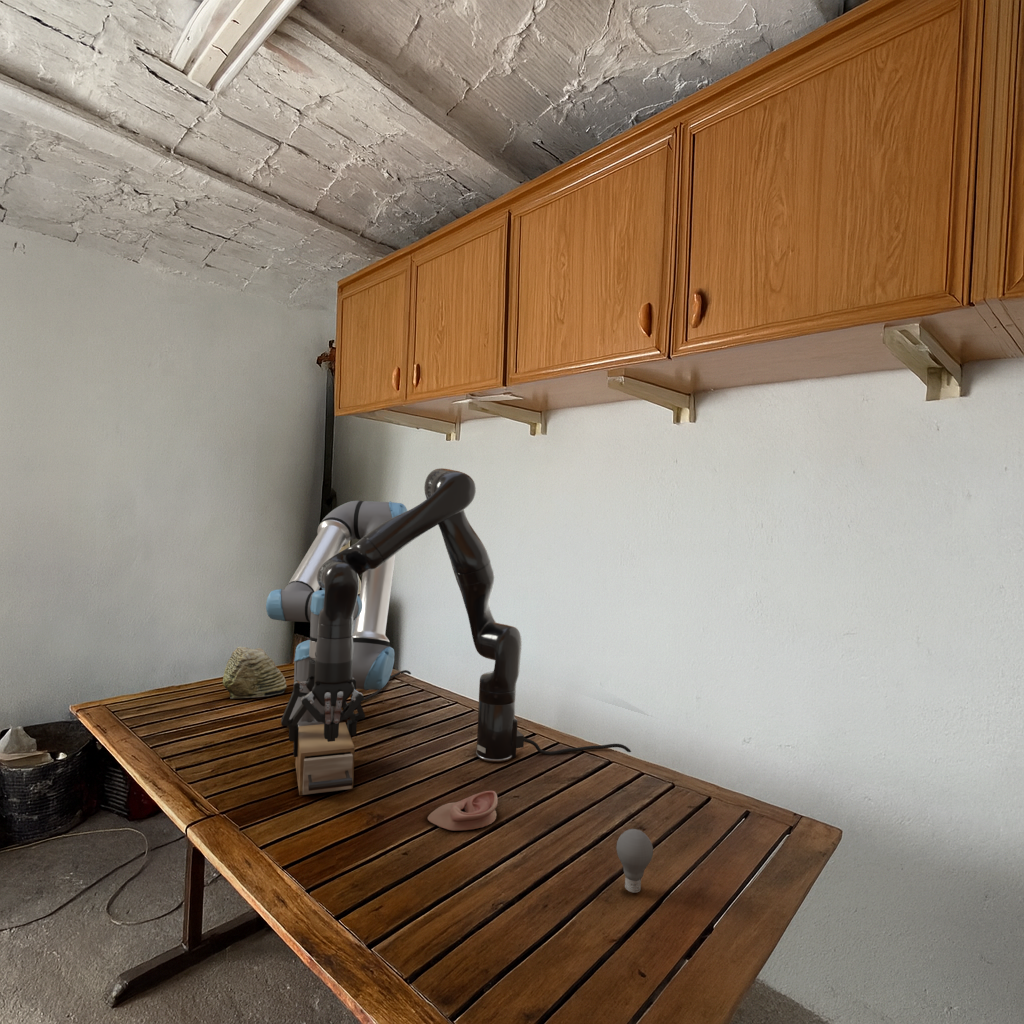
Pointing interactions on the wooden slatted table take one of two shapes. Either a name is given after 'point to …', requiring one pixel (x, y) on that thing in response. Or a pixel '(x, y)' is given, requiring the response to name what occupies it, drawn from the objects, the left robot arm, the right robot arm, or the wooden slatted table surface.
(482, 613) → the right robot arm
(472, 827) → the anatomical model
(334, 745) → the cabinet
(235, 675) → the fossil
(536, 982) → the wooden slatted table surface
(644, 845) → the light bulb
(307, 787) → the drawer
